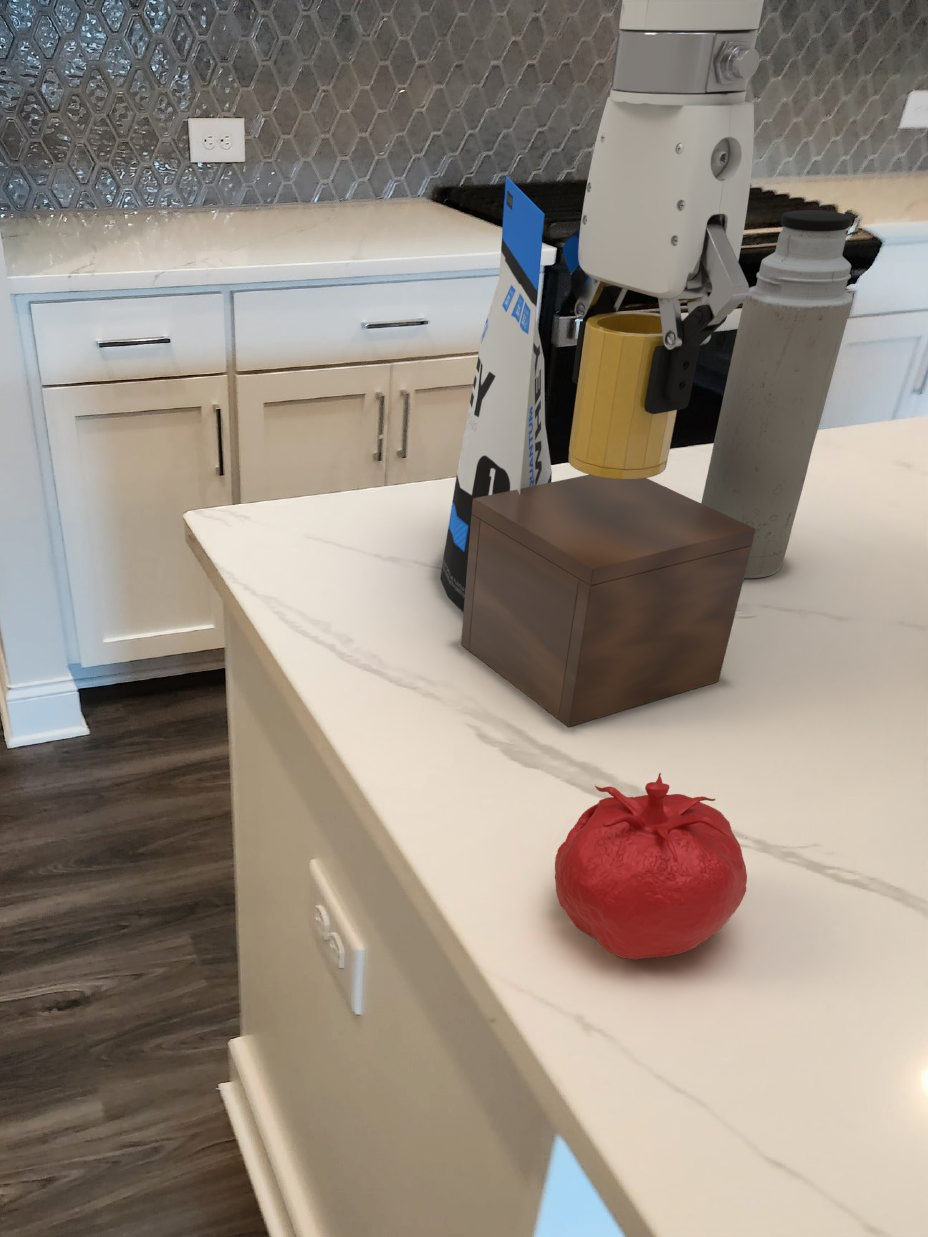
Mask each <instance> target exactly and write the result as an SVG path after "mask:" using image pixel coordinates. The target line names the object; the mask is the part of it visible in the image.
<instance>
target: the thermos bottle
mask: <svg viewBox="0 0 928 1237" xmlns="http://www.w3.org/2000/svg"><path fill="white" fill-rule="evenodd" d="M851 220H852V216H850V215H849V214H847V213H843V212H837V211H829V210H819V209H818V210H817V209H816V210H815V209H814V210H813V209H811V210H810V209H808V210H806V209H805V210H791V211H787V212H784V213H782V216H781V220H780V225H781V226H782V229H781V231H780V232H779V234H778V238H777V243H776V247H775V251H774V252H773V253H770V254H769V255H768V256H765V257H764V258H763V259H762V260H761V263H760V265H759V266H760V267H759V271H758V272H757V273H756V279H757V281H756V285H754V286H751V287H749V293H748V295H747V297H746V298H745V299H744V300H743V301H742V307H741V311H740V317H739V322H738V326H737V330H736V336H735V341H734V344H733V350H732V355H731V360H730V364H729V369H728V374H727V379H726V383H725V388H724V393H723V398H722V403H721V407H720V410H719V411H720V412H719V416H718V421H717V426H716V431H715V436H714V441H713V445H712V450H711V455H710V460H709V464H708V470H707V474H706V479H705V484H704V488H703V492H702V498H701V501H700V503H701V504H703V505H705V506H707V507H710V508H712V509H714V510H716V511H718V512H720V513H722V514H725V515H727V516H729V517H731V518H733V519H735V520H738V521H740V522H742V523H744V524H746V525H748V526H750V527H753V528H755V529H756V531H755V535H754V539H753V543H752V548H751V552H750V556H749V560H748V564H747V568H746V572H745V576H744V579H760V578H761V579H762V578H766V577H769V576H772V575H774V574H776V573H778V572H779V571H780V570H781V569H782V568H783V564H784V560H785V556H786V554H787V553H786V552H787V550H788V545H789V542H790V538H791V534H792V530H793V526H794V523H795V522H794V521H795V518H796V514H797V510H798V507H799V503H800V500H801V496H802V492H803V487H804V485H805V480H806V477H807V474H808V473H807V472H808V468H809V464H810V461H811V456H812V452H813V449H814V444H815V440H816V438H817V434H818V431H819V427H820V425H821V421H822V416H823V413H824V410H825V405H826V402H827V398H828V393H829V390H830V386H831V383H832V379H833V375H834V372H835V367H836V364H837V360H838V357H839V352H840V349H841V345H842V342H843V337H844V334H845V330H846V326H847V322H848V319H849V315H850V311H851V307H852V303H853V296H852V295H851V294H850V293H848V292H847V291H846V288H847V285H848V281H849V280H850V279H851V278H852V275H851V274H850V272H851V269H852V264H851V263H850V262H849V261H848V260H847V259H846V258H845V257H844V256H843V253H844V250H845V245H846V241H847V235H846V232H847V230H848V229H849V228H850V224H851Z"/></svg>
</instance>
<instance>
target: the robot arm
mask: <svg viewBox="0 0 928 1237" xmlns="http://www.w3.org/2000/svg"><path fill="white" fill-rule="evenodd" d="M764 2H765V0H622V2H621V8H620V16H619V25H618V29H619V31H618V32H617V38H616V47H615V54H614V62H613V69H612V78H611V84H610V85H611V86H610V92H609V96H608V97H607V98H606V102H605V105H604V108H603V113H602V116H601V120H600V125H599V127H598V131H597V134H596V139H595V144H594V148H593V153H592V156H591V162H590V166H589V172H588V177H587V182H586V187H585V188H586V189H585V193H584V194H585V195H584V199H583V205H582V211H581V212H582V213H581V219H580V225H579V226H578V227H577V229H576V230H575V231H574V232H573V233H572V235H570V237H569V238H568V239H567V240H566V241H565V243H564V244H563V247H562V254H563V257H564V260H565V263H566V266H567V270H568V272H569V275H570V286H571V289H572V292H573V295H574V297H575V300H576V302H575V305H574V315H575V317H576V319H577V320H579V323H578V324H579V325H578V330H577V331H578V332H577V339H576V348H575V354H574V362H573V370H572V377H571V380H572V382H573V383H574V384H577V385H578V379H579V371H580V364H581V356H582V349H583V342H584V334H585V327H586V322H587V320H588V318H590V317H593V316H596V315H600V314H606V313H613V312H619V308H620V307H621V305H622V302H623V300H624V298H625V296H626V294H627V292H628V290H629V291H633V292H635V293H640V294H643V295H647V296H649V297H650V296H651V297H654V298H657V299H658V307H659V314H660V317H661V326H662V334H663V342H664V345H663V346H656V347H655V350H654V353H653V358H652V364H651V370H650V376H649V381H648V387H647V393H646V399H645V405H644V407H645V411H646V412H648V413H651V414H658V413H664V412H669V411H674V410H677V411H679V410H680V411H681V410H684V409H686V408H687V407H688V405H689V403H690V400H691V394H692V390H693V383H694V379H695V375H696V374H695V373H696V369H697V363H698V358H699V354H700V348H701V346H703V345H706V344H708V343H709V342H710V340H711V337H712V334H713V333H714V332H716V331H717V330H718V328H720V327H721V326H722V325H723V324H724V323H725V322H726V320H727V318H728V315H731V314H732V312H734V311H735V310H736V308H738V306H739V305H740V304H741V303H743V302H744V299H745V298H746V297H747V295H748V293H749V288H750V286H749V282H748V281H747V278H746V276H745V273H744V272H743V270H742V266H741V264H740V263H739V259H740V253H741V248H742V243H743V238H744V237H743V236H744V232H745V225H746V218H747V213H748V212H747V211H748V205H749V197H750V189H751V182H752V181H751V180H752V171H753V160H754V146H755V145H754V143H755V142H754V141H755V107H754V106H755V103H754V102H750V101H745V100H746V95H747V89H748V83H749V79H750V78H752V77H753V76H754V75H755V74H756V72H757V70H758V68H759V64H760V54H759V51H757V50H756V49H755V48H756V43H757V38H758V34H759V31H758V30H757V29H759V27H760V22H761V17H762V12H763V7H764ZM708 293H710V294H709V295H708ZM681 304H687V314H688V315H686V316H685V317H684V318H682V310H681ZM682 319H684V320H683V321H682Z"/></svg>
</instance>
